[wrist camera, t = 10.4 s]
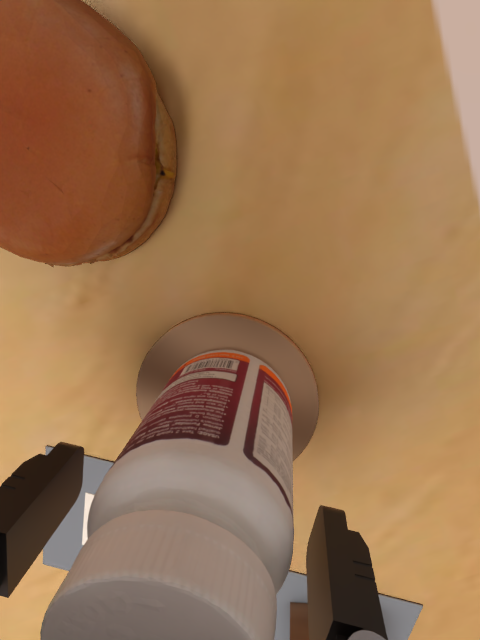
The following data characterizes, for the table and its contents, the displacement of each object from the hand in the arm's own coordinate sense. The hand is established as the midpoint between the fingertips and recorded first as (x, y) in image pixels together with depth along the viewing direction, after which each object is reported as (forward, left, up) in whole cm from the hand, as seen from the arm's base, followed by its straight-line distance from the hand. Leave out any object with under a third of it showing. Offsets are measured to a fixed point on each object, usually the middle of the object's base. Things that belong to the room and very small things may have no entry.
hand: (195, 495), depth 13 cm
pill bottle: (0, 0, -7) cm, 7 cm away
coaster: (0, 0, -7) cm, 7 cm away
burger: (-10, -9, -7) cm, 15 cm away
